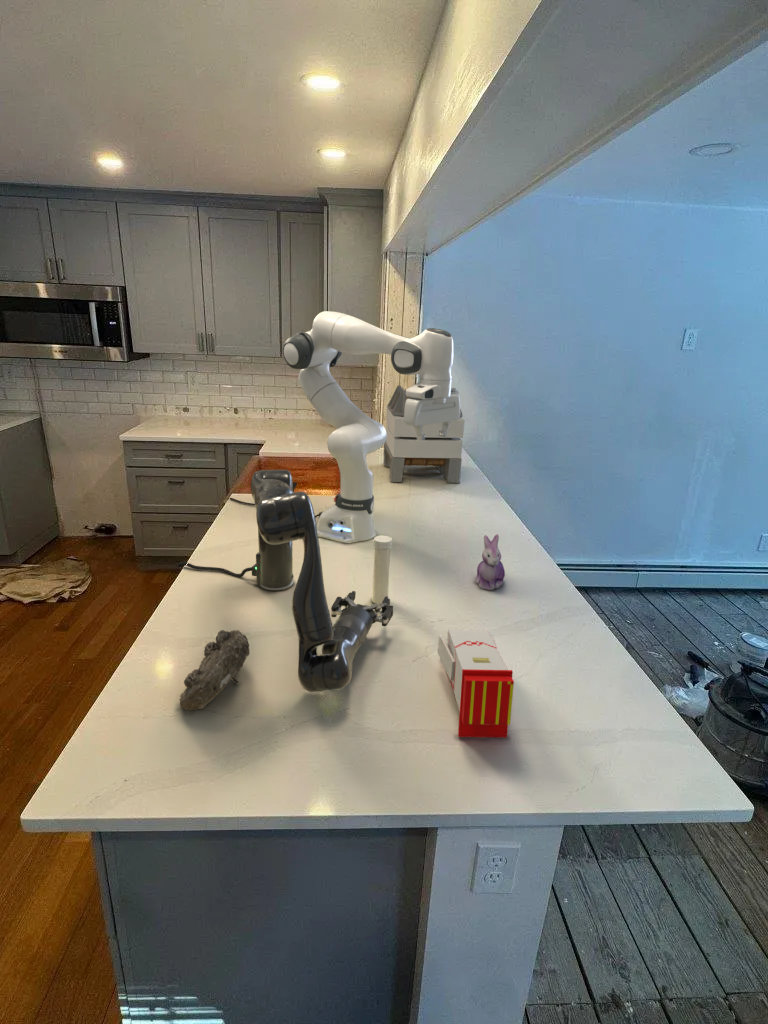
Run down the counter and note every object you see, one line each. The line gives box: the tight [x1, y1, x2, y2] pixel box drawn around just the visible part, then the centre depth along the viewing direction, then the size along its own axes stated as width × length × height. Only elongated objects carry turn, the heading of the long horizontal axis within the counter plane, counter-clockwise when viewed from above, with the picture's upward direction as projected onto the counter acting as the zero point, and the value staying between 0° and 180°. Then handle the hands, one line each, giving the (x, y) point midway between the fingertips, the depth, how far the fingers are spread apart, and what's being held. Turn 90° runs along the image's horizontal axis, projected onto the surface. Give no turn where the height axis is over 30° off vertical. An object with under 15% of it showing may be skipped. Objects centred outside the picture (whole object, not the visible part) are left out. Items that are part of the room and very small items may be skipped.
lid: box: [373, 535, 393, 549], centre depth 148 cm, size 5×5×2 cm
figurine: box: [475, 534, 506, 591], centre depth 164 cm, size 9×10×15 cm
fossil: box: [179, 629, 250, 712], centre depth 117 cm, size 22×10×15 cm
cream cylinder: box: [371, 546, 391, 605], centre depth 151 cm, size 4×4×18 cm
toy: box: [437, 628, 515, 738], centre depth 117 cm, size 12×13×30 cm
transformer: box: [383, 384, 465, 484], centre depth 268 cm, size 34×33×41 cm
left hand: (370, 597), depth 142 cm, fingers open, 8 cm apart
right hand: (431, 438), depth 163 cm, fingers open, 8 cm apart
